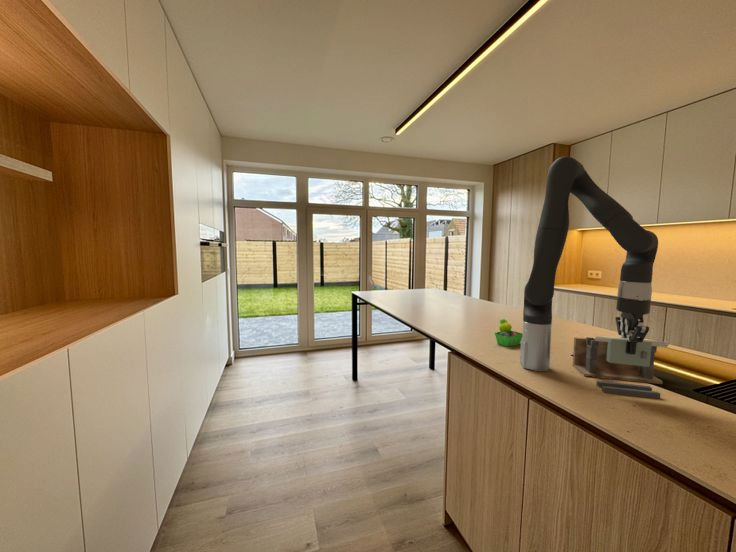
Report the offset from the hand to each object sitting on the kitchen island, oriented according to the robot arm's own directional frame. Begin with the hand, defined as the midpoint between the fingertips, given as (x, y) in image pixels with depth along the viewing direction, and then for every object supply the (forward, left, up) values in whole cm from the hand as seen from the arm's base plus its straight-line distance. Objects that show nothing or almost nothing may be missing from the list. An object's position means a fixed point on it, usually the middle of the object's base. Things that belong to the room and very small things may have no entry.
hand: (628, 352), depth 89 cm
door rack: (0, 0, -12) cm, 12 cm away
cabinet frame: (+3, +14, -12) cm, 19 cm away
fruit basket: (-27, +42, -13) cm, 51 cm away
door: (0, 0, -4) cm, 4 cm away
